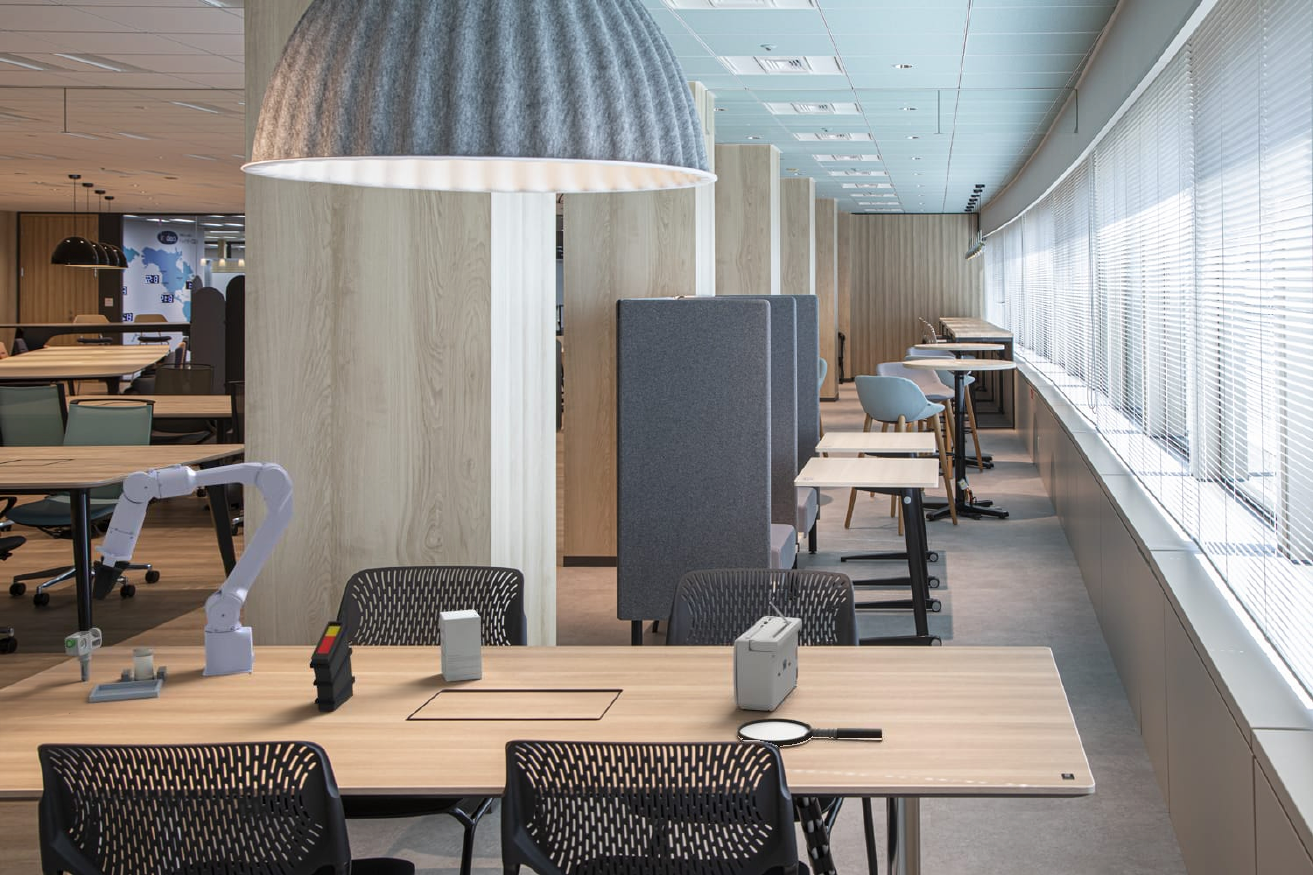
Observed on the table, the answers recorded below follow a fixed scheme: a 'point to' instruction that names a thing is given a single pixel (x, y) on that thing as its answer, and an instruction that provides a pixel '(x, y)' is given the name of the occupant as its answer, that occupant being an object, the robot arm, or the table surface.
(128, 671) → the holder
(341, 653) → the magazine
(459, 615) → the supplement box
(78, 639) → the mechanical component
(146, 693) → the tray
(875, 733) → the magnifying glass
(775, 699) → the stereo radio cassette player
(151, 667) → the white cylindrical jar
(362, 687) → the table surface
